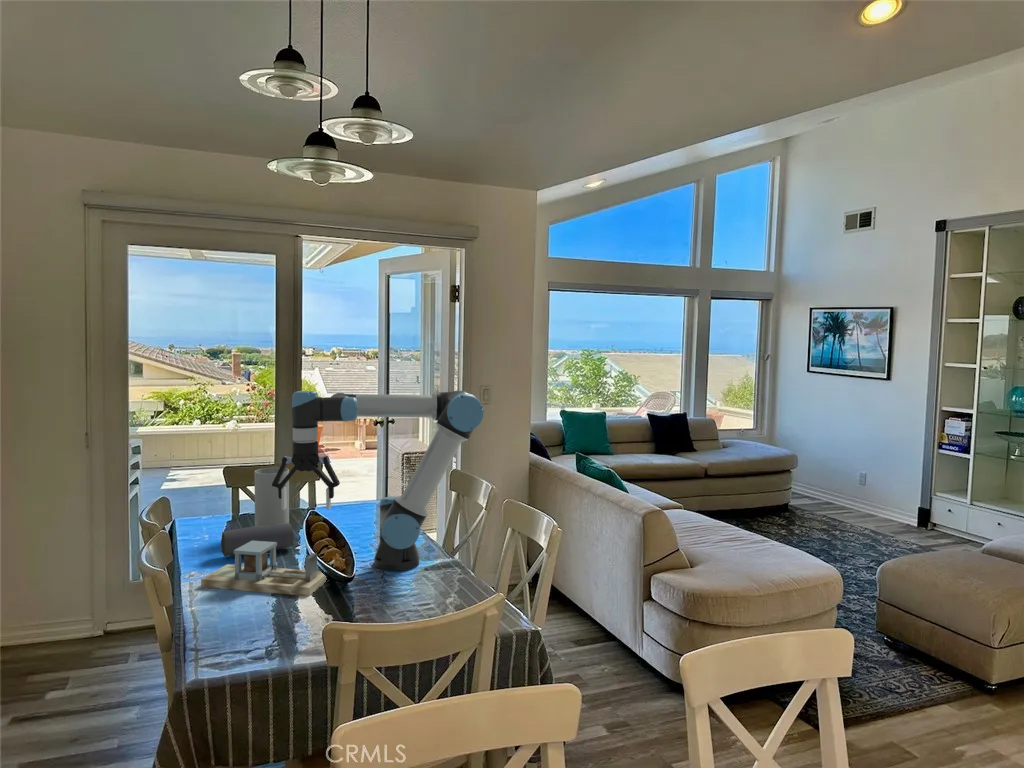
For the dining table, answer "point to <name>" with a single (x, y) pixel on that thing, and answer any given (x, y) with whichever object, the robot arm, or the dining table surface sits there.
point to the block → (254, 562)
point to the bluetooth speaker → (257, 537)
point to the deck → (264, 582)
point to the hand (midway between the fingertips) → (306, 508)
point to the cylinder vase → (269, 498)
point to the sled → (308, 576)
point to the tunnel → (258, 550)
